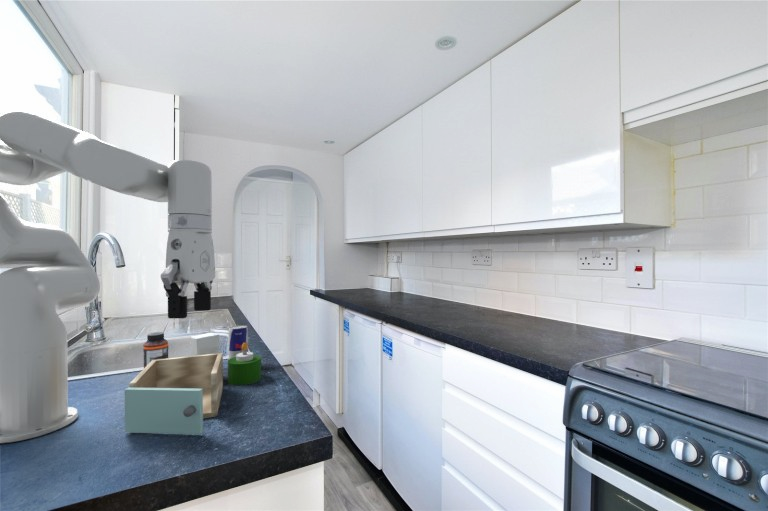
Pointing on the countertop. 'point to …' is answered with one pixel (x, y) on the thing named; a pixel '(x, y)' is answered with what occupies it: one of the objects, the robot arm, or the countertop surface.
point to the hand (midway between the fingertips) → (190, 313)
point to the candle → (244, 368)
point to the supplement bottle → (155, 347)
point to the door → (164, 410)
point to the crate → (187, 377)
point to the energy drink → (237, 339)
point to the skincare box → (204, 344)
